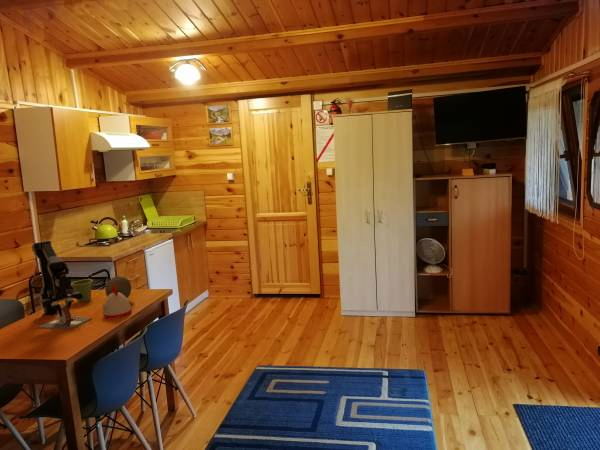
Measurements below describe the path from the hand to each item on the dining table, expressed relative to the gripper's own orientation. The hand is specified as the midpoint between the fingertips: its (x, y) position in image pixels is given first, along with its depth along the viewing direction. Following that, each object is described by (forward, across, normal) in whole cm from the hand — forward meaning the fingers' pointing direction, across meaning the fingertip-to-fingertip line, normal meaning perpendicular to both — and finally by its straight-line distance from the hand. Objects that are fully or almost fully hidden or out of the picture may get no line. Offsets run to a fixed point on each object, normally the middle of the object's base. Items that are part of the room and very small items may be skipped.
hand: (64, 315), depth 236 cm
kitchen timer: (+4, -24, +8) cm, 25 cm away
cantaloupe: (+4, -32, -11) cm, 34 cm away
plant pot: (+4, -21, -35) cm, 41 cm away
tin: (+4, 0, 0) cm, 4 cm away
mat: (+4, 0, 0) cm, 4 cm away
